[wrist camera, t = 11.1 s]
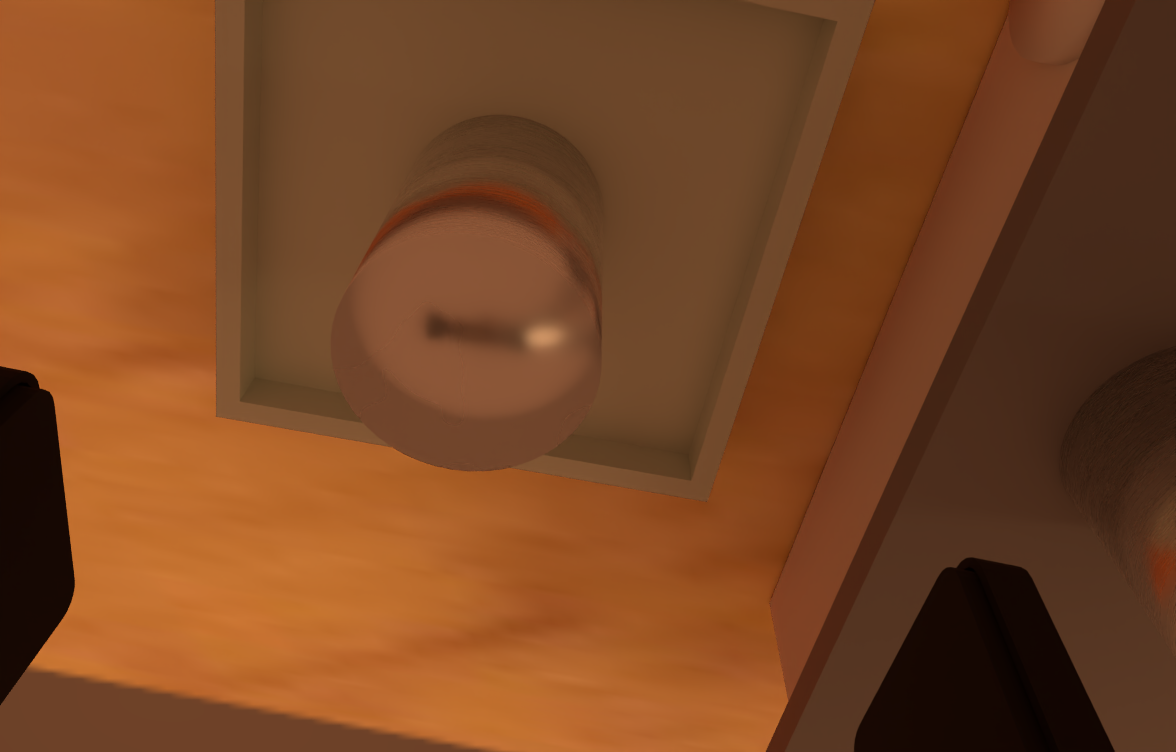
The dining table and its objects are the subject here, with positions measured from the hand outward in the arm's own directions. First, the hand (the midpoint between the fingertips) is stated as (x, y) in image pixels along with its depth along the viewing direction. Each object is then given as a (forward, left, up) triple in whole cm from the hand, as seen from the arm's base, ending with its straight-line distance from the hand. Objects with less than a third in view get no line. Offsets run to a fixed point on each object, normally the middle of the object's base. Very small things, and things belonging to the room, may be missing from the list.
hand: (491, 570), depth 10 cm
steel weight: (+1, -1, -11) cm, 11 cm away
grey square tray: (+1, -1, -12) cm, 12 cm away
